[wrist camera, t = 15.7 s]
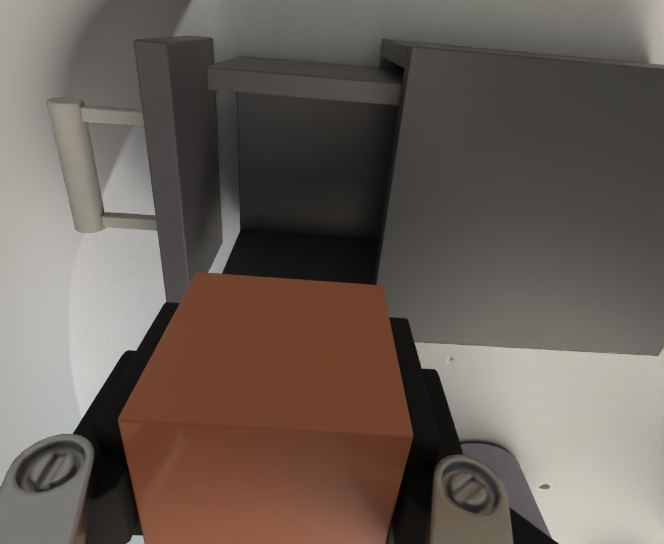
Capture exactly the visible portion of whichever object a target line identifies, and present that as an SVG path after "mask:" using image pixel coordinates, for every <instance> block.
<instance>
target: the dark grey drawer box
mask: <svg viewBox="0 0 664 544" xmlns="http://www.w3.org/2000/svg"><path fill="white" fill-rule="evenodd" d="M379 68H381V69H393V70H404V77H403V84H402V91H401V98H400V105H399V111H398V118H397V125H396V132H395V139H394V145H393V152H392V159H391V166H390V173H389V179H388V186H387V193H386V200H385V207H384V213H383V220H382V227H381V234H380V241H379V247H378V254H377V261H376V268H375V274H374V281H373V285H381V286H382V287H383V291H384V296H385V300H386V305H387V310H388V315H389V317H394V318H407V319H408V321H409V324H410V328H411V332H412V336H413V339H414V342H424V343H441V344H459V345H476V346H494V347H511V348H529V349H547V350H564V351H582V352H599V353H617V354H634V355H652V356H658V355H659V354H660V352H661V350H662V349H663V347H664V65H658V64H649V63H638V62H627V61H616V60H605V59H594V58H583V57H572V56H561V55H550V54H539V53H528V52H517V51H506V50H495V49H484V48H473V47H462V46H451V45H440V44H429V43H419V42H408V41H397V40H386V39H383V40H382V45H381V53H380V62H379Z"/></svg>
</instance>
